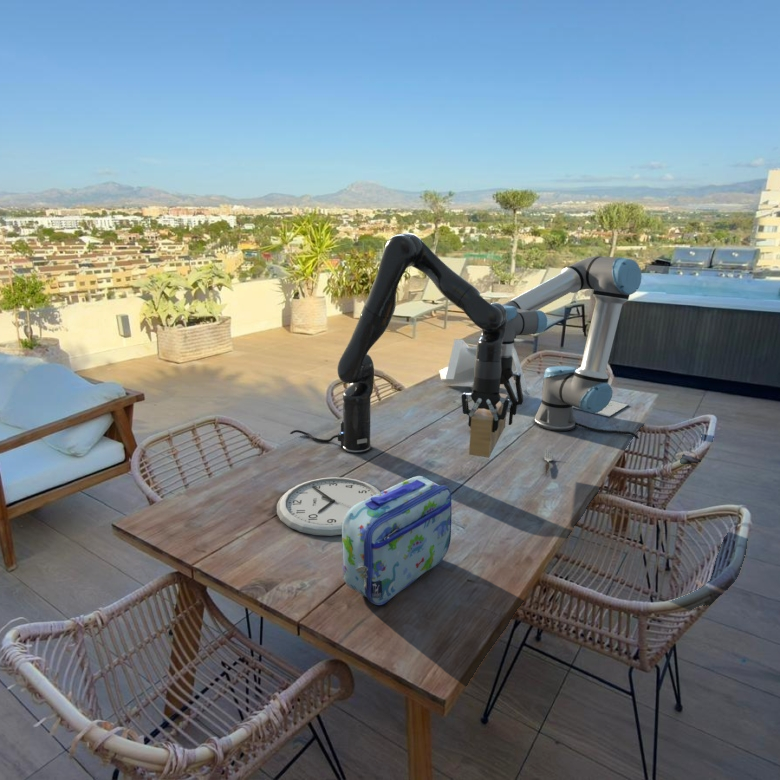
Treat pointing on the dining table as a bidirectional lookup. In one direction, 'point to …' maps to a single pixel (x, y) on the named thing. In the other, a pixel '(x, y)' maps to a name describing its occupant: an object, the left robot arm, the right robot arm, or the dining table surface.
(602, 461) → the dining table surface
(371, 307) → the left robot arm
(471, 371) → the white plastic object
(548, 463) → the fork
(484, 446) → the box
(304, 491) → the wall clock
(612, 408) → the invitation card
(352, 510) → the lunch box
